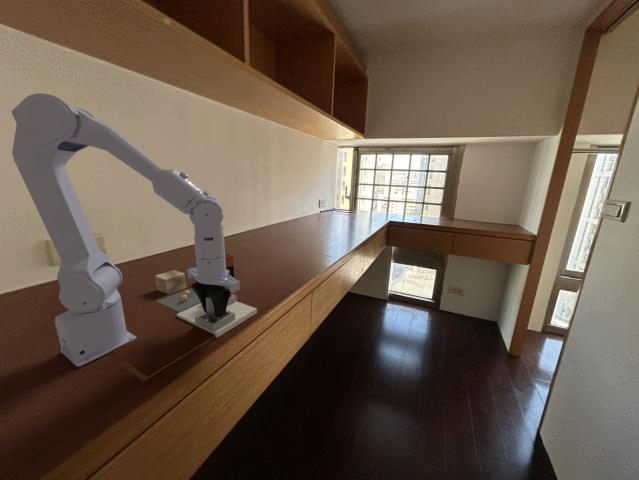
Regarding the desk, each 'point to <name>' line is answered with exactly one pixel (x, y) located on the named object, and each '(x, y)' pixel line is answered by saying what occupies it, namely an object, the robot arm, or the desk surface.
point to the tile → (181, 300)
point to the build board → (232, 318)
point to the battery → (229, 264)
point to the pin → (211, 310)
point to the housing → (171, 281)
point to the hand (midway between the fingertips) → (215, 313)
